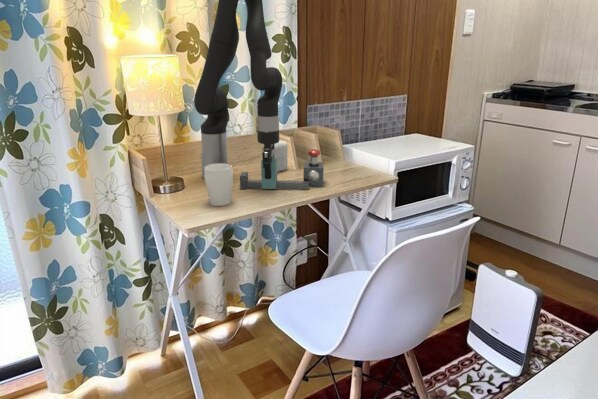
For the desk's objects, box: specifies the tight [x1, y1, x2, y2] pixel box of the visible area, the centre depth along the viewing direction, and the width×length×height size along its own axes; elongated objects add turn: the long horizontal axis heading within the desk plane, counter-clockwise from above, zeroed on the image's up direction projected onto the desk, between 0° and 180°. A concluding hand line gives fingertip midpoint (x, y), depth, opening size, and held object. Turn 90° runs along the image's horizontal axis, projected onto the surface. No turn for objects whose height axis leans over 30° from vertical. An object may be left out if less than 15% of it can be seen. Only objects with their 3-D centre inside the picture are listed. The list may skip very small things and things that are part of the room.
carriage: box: [260, 158, 278, 190], centre depth 162 cm, size 5×4×10 cm
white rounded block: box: [274, 139, 288, 173], centre depth 182 cm, size 10×4×12 cm, turn 134°
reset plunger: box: [307, 148, 321, 166], centre depth 166 cm, size 4×4×7 cm
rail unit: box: [239, 161, 325, 191], centre depth 166 cm, size 29×13×7 cm, turn 86°
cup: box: [204, 163, 234, 207], centre depth 148 cm, size 9×9×12 cm
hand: (269, 175), depth 162 cm, fingers open, 5 cm apart
